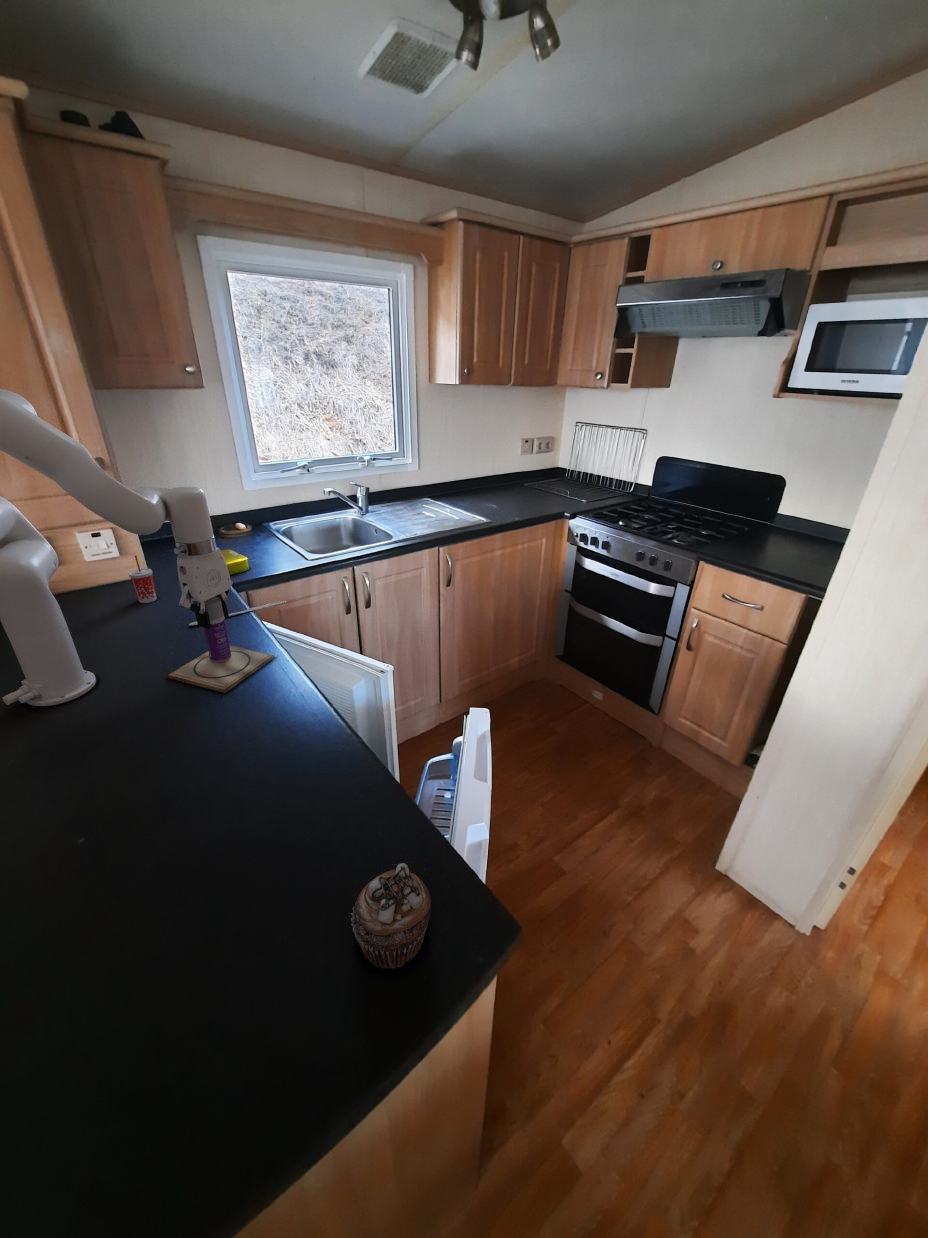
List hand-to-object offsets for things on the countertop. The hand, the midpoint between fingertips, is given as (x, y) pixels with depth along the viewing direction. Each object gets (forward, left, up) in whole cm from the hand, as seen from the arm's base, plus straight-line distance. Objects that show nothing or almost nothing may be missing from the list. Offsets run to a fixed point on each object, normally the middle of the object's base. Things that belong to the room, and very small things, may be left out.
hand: (213, 621), depth 117 cm
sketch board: (-2, -2, -11) cm, 11 cm away
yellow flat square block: (+48, +46, -11) cm, 68 cm away
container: (0, 0, -10) cm, 10 cm away
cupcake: (-44, -69, -11) cm, 82 cm away
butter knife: (+23, +15, -11) cm, 30 cm away
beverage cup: (+20, +47, -11) cm, 53 cm away
